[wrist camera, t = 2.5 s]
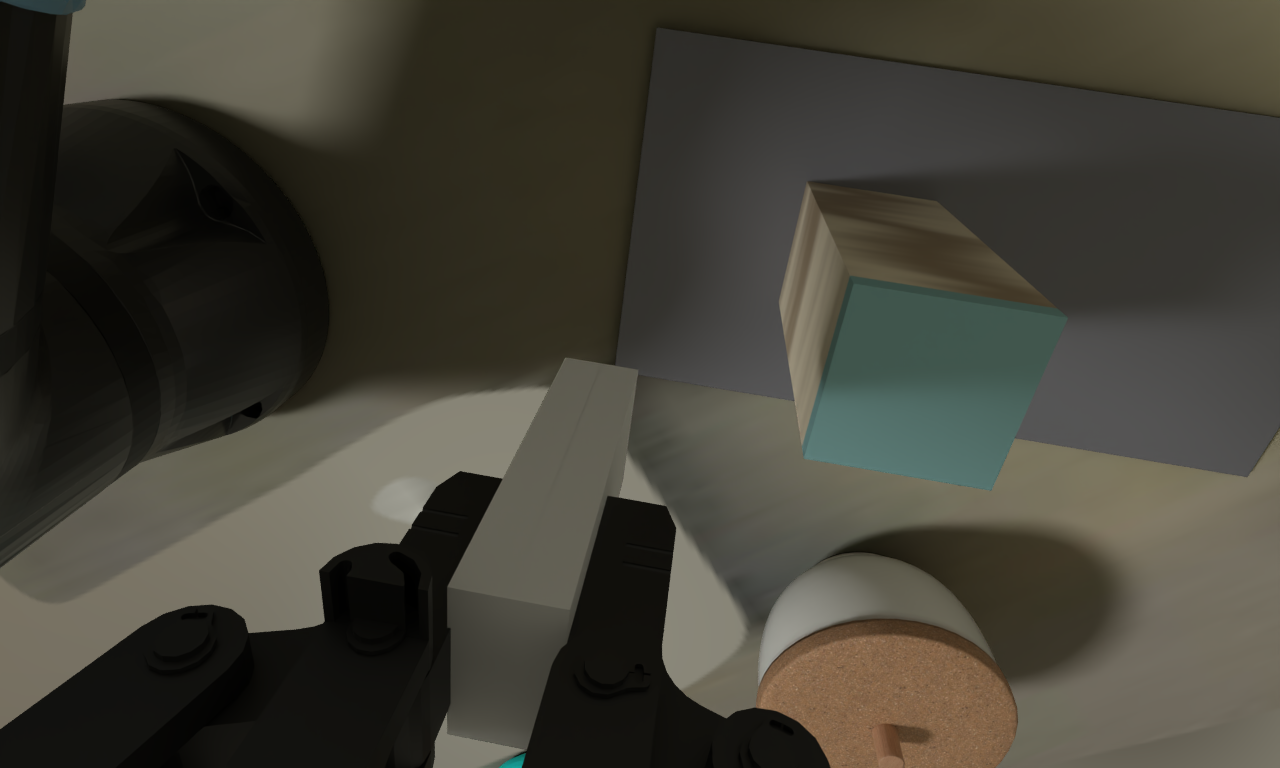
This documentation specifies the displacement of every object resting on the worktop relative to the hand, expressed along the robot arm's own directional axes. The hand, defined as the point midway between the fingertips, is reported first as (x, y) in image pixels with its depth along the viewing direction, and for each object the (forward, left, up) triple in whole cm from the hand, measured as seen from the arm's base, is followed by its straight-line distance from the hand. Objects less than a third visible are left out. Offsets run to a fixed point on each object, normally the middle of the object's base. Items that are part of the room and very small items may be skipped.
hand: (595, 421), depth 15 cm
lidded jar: (+13, -18, -17) cm, 28 cm away
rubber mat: (+13, 0, -16) cm, 21 cm away
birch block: (+8, 0, -16) cm, 18 cm away
